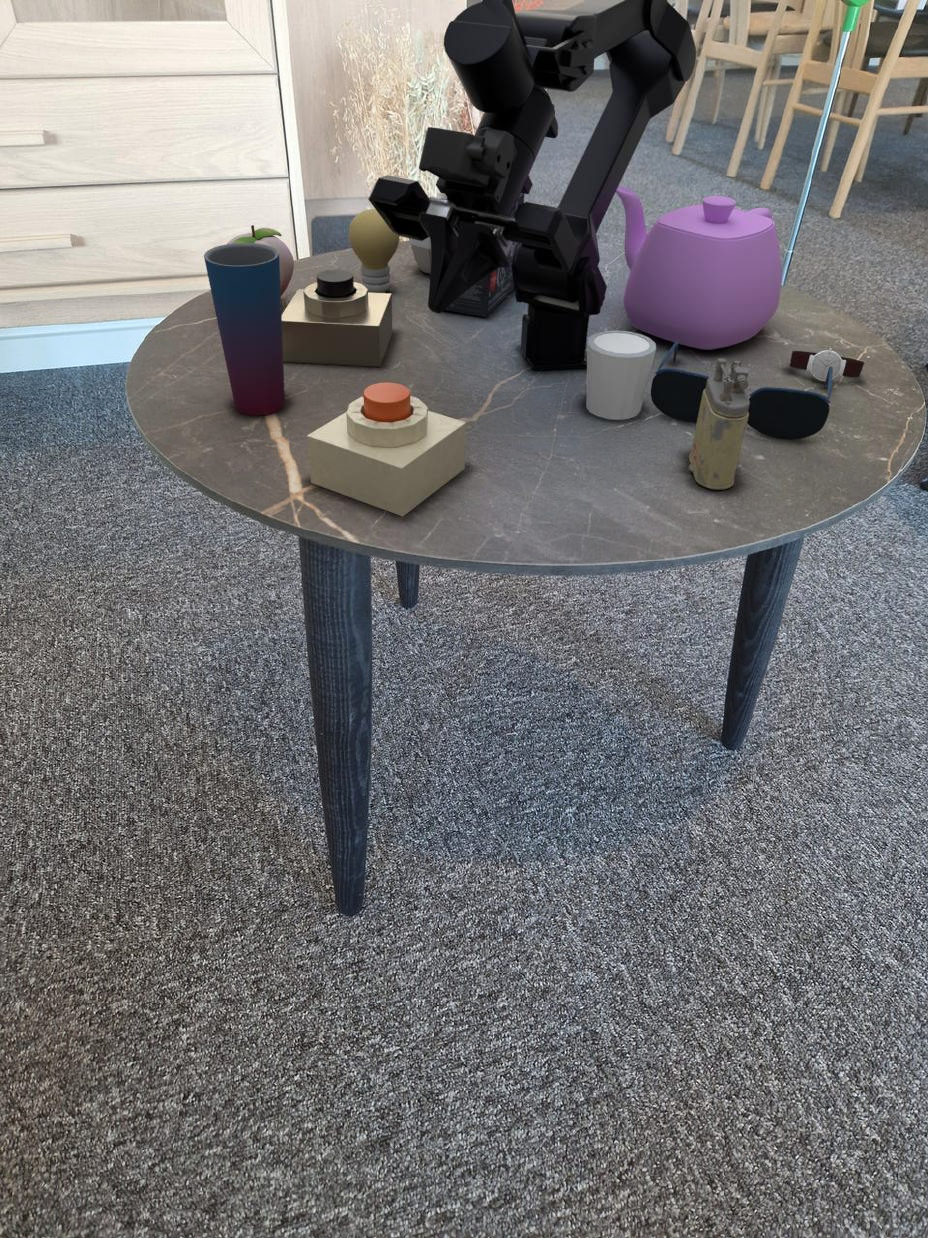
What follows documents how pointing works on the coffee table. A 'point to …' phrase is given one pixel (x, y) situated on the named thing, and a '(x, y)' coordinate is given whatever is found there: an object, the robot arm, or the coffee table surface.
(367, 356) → the beige button base
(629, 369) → the white tapered cylinder
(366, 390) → the power button
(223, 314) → the cup
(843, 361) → the watch
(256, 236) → the decorative fruit
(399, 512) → the beige button housing
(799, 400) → the sunglasses
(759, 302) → the teapot
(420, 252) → the white faceted pot
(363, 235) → the light bulb
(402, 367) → the coffee table surface
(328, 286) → the button
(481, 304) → the small box
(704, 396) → the lighter
